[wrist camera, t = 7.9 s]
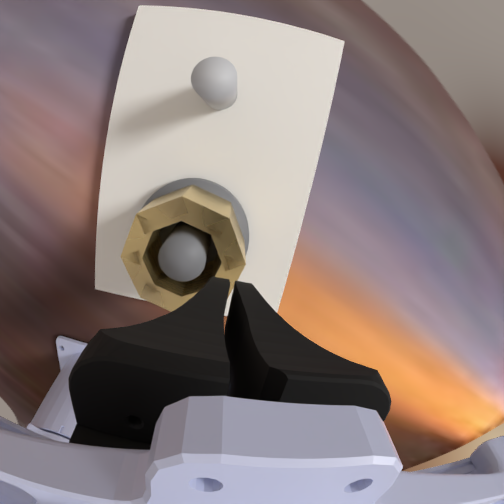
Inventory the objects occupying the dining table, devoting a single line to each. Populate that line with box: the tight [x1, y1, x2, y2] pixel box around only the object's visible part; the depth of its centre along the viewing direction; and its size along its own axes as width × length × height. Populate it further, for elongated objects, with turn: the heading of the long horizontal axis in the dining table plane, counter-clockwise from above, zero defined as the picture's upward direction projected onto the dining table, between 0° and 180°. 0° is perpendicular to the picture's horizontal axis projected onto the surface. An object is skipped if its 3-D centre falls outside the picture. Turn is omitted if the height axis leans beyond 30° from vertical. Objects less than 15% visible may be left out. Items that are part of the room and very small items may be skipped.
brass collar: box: [121, 184, 246, 312], centre depth 16 cm, size 5×5×4 cm
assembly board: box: [95, 6, 345, 316], centre depth 15 cm, size 18×12×6 cm, turn 168°
